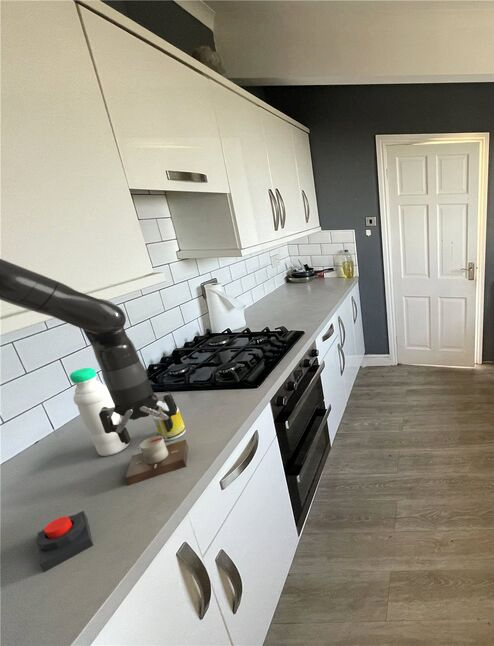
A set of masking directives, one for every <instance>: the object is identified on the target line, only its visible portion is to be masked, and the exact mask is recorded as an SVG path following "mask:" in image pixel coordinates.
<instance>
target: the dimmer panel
mask: <svg viewBox="0 0 494 646" xmlns="http://www.w3.org/2000/svg"><path fill="white" fill-rule="evenodd" d="M165 445H166V448H167V450H168V456H167V457H166V458H165V459H163V460H161V461H159V462H157V463H153V464H148V463H146V461H145V458H144V456H143V453H142V452H140V453H137V454H133V455H131V458H130V461H129V464H128V467H127V470H126V473H125V477H124V479H125V481H126V483H127V485H128V486H131V485H135V484H138V483H140V482H144V481H146V480H149V479H152V478H155V477H159V476H161V475H164V474H168V473H171V472H174V471H177V470H180V469H183V468H186V467H187V460H188V451H189V444H188V442H187V439H183V440H180V441H176V442H174V443H170V444H165Z"/></svg>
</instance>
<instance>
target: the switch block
mask: <svg viewBox="0 0 494 646" xmlns="http://www.w3.org/2000/svg"><path fill="white" fill-rule="evenodd" d="M67 517H69V518H70V520H71V522H72V524H73V525H72V527H71V529H69V530H68V531H67V532H66V533H64V534H62V535H60V536H58V537H56V538H52V539H50V538H48V537H47V535H46V533H45V532H44V529H42V530H41V531H38V532H37V537H36V544H37V547H38V554H39V555H38V557H39V558H38V559H39V566H40V567H41V569H42V571H43V572H44V573H46V572H48V571H50V570H51V569H53V568H55V567H57V566H59V565H61V564H62V563H64V562H66V561H67V560H69V559H71V558H73V557H75V556H77V555H79V554H80V553H82V552H84V551H86V550H89V548H91V547H93V546H94V542H93V537H92V533H91V528H90V523H89V520H88V517H87V515H86V512H85V511H84V510H82V511H80V512H78V513H76V514H72V515H68V516H67Z"/></svg>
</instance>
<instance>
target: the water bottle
mask: <svg viewBox="0 0 494 646" xmlns="http://www.w3.org/2000/svg"><path fill="white" fill-rule="evenodd" d="M69 379H70V381H71V382H72V384H74V385H76V387H75V389H74V395H73V402H74V404H75V405H76V406H77V409H78V412H79V415H80V417H81V419H82V422H83V424H84V425H85V427H86V430H87V431H88V432H89V435H90V439H91V441H92V442H93V443H94V447H95V450H96V452H97V454H98V455H99V456H101V457H108V456H113V455H116V454H119V453H120V452H122V451H124V450H125V449H127V448H128V447H129V446H130V445H131V442H130V443H128V444H125V442H124V443H122V442H121V441H120V438H119V436H118V434H117V433H116V432H111V433H108V434H107V433H105V431H104V428H103V425H102V422H101V420H100V417H99V413H100V411H101V409H102V408H103V407H107V408H112V407H115V405H114V403H113V400H112V398H111V396H110V393H109V391H108V389H107V387H106V384H103V383H102V382H101V381H99V380H97V372H96V370H95V368H93V367H83V368H80V369H77V370H75V371H72V372H71V373H70V374H69ZM111 418H112V421H113V424H114V425H118V424H119V422H120V420H121V419H122V418H121V415H119V414H117V413H115V412H113V415H112V417H111Z"/></svg>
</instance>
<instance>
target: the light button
mask: <svg viewBox="0 0 494 646" xmlns="http://www.w3.org/2000/svg"><path fill="white" fill-rule="evenodd" d="M72 525H73V524H72V522H71V520H70V518H69V517H68V516H61V517H57V518H56V519H54V520H52V521H51V522H49V523H48V524H47V525H46V526H45V527H44V529H43V530H44V532H45V533H46V535H47V537H48V538H50V539H52V538H56V537H58V536H60V535H62V534H64V533H66V532H67V531H68V530H69V529H71V527H72Z"/></svg>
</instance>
